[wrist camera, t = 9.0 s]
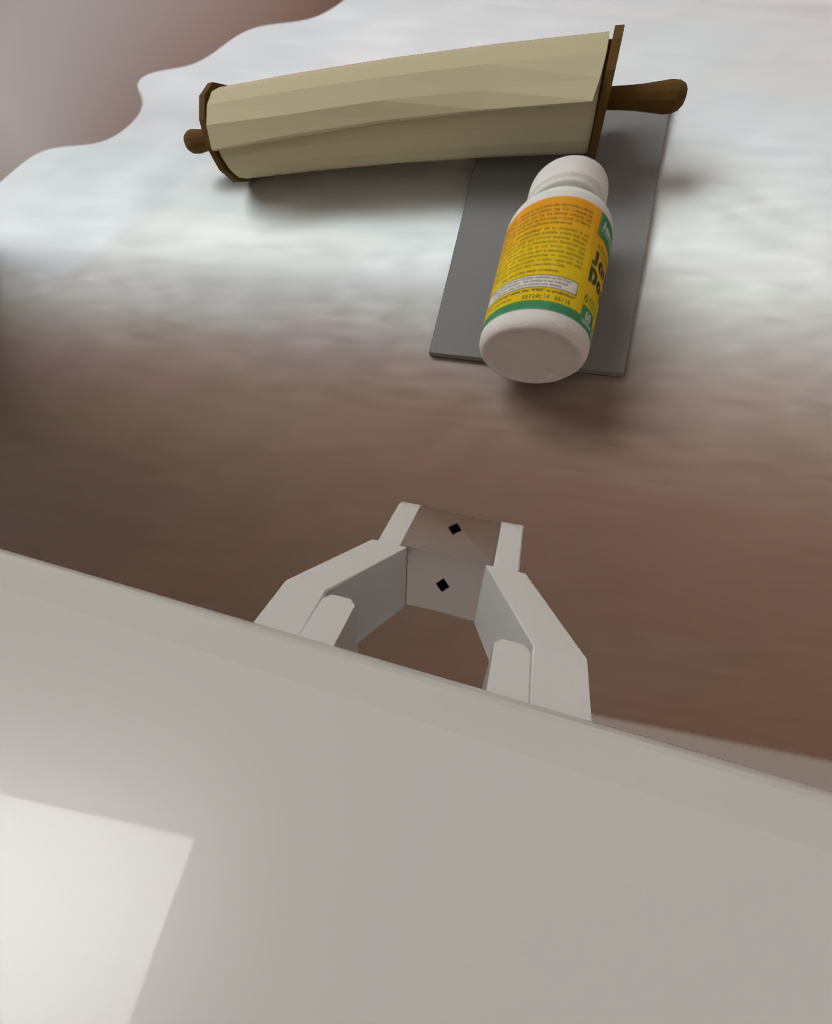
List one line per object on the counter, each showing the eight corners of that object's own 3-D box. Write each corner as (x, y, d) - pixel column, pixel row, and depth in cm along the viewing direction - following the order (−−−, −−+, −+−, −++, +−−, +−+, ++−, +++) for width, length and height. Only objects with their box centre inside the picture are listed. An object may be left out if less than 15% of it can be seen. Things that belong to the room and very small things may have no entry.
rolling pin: (671, 108, 23) (717, -19, 18) (661, 188, 22) (706, 78, 17) (217, 144, 30) (165, 62, 26) (198, 205, 30) (140, 132, 25)
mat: (430, 355, 24) (429, 351, 23) (489, 112, 26) (489, 105, 26) (621, 376, 21) (624, 373, 21) (668, 106, 24) (671, 98, 23)
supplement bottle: (480, 380, 22) (514, 238, 24) (576, 391, 21) (608, 240, 22) (473, 318, 17) (518, 140, 19) (600, 328, 16) (639, 135, 17)
